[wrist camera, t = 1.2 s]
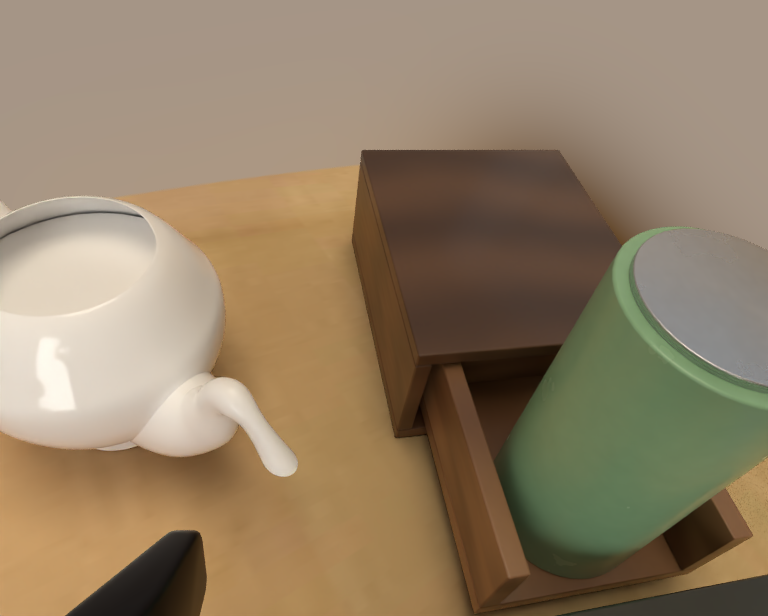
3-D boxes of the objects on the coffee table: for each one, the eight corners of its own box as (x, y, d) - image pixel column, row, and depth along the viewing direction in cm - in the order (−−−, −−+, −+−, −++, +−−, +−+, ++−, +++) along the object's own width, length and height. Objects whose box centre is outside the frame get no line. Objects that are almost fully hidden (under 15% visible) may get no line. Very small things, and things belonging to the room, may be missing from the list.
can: (661, 565, 22) (933, 392, 12) (516, 591, 20) (701, 420, 11) (594, 426, 25) (766, 215, 16) (469, 441, 24) (578, 221, 15)
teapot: (199, 654, 19) (148, 572, 13) (-108, 347, 26) (-255, 179, 19) (366, 456, 25) (395, 323, 18) (81, 243, 31) (21, 85, 24)
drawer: (750, 678, 20) (846, 652, 17) (486, 741, 18) (533, 727, 15) (593, 368, 29) (635, 309, 25) (400, 386, 27) (417, 324, 23)
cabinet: (615, 413, 28) (681, 334, 24) (394, 438, 26) (418, 355, 21) (524, 234, 37) (559, 149, 32) (351, 240, 34) (361, 149, 30)
